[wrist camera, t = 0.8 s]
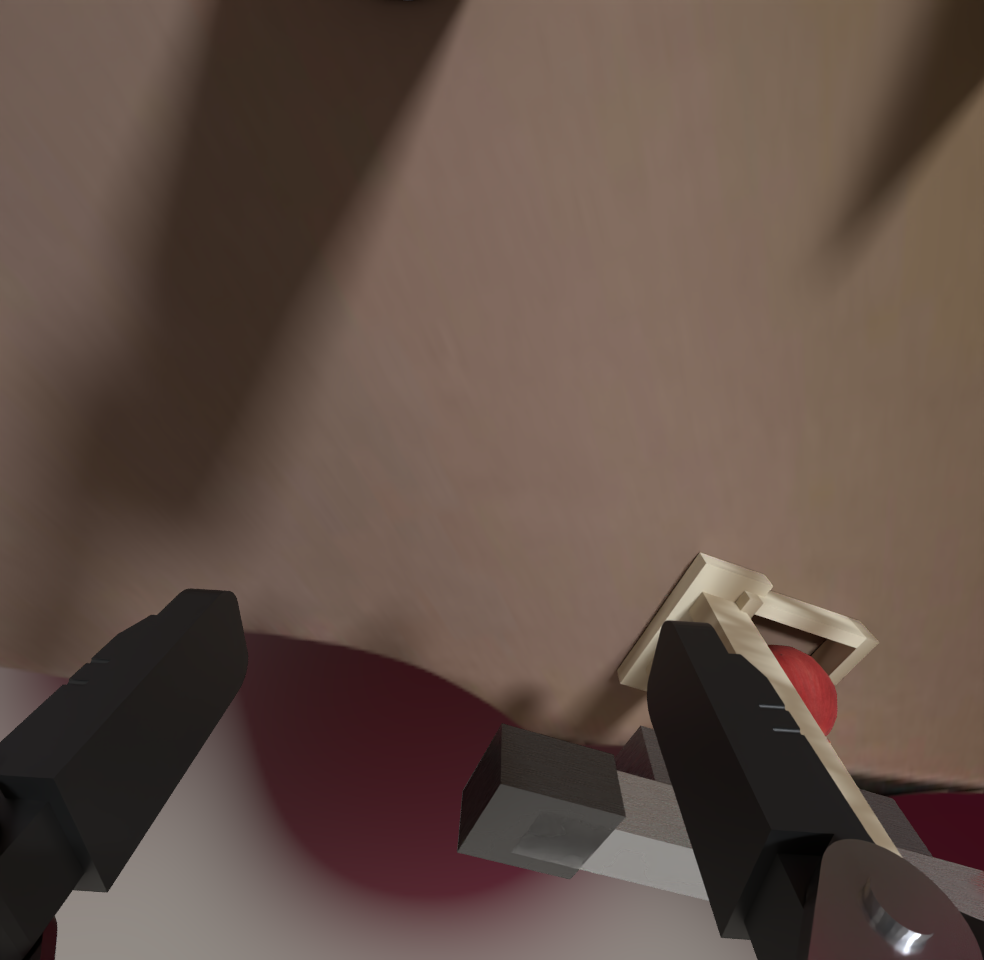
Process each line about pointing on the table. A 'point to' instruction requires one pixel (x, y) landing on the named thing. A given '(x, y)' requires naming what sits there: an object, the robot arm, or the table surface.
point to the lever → (624, 817)
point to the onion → (809, 684)
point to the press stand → (764, 650)
